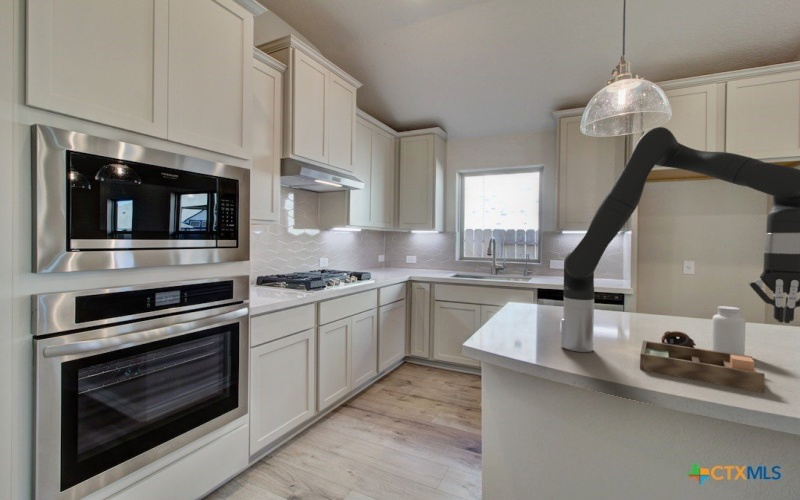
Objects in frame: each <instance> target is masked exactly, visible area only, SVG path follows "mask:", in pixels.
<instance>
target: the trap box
mask: <svg viewBox="0 0 800 500" xmlns="http://www.w3.org/2000/svg"><path fill="white" fill-rule="evenodd" d="M730 355H736V356H743V357H750V358H752V359H753V356H749V355H745V354H744V355H738V354H731V353H724V352H718V351H712V349H710V350H709V349H704V348H703V349H702V348H696V347H695V348H691V347H684V346H677V345H670V344H664V343H661V342H658V341H657V342H656V341H648V340H643V339H642V344H641V349H640V354H639V357H640V359H639V370H642V371H648V372H652V373H658V374H663V375H669V376H674V377H680V378H685V379H690V380H695V381H699V382H700V381H701V382H706V383H711V384H715V385H722V386H726V387H732V388H738V389H742V390H746V391H747V390H748V391H753V392H758V393H765V375H766V374H765V373H764V372H758V371H757V370H756V368H755V367H754V371H748V370H741V369H735V368H730Z"/></svg>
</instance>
